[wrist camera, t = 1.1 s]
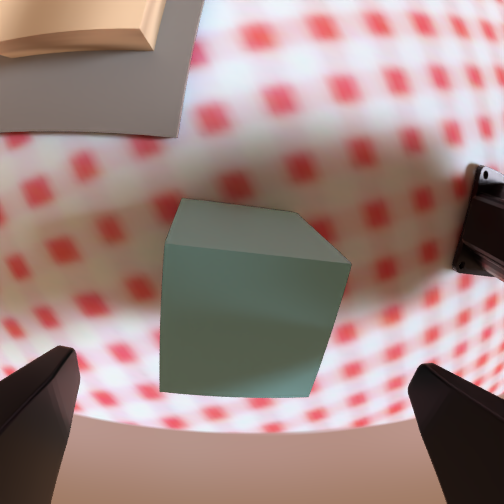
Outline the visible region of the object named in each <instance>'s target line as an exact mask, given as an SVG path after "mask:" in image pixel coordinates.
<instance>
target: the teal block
mask: <svg viewBox="0 0 504 504" xmlns="http://www.w3.org/2000/svg"><path fill="white" fill-rule="evenodd" d="M351 265H352V264H351V263H350V262H349V261H348V260H347V259H346V258H345V257H344V256H343V255H342V254H341V253H340V252H339V251H338V250H337V249H336V248H334V247H333V246H332V245H331V244H330V243H329V242H328V241H327V240H326V239H325V238H324V237H323V236H321V235H320V234H319V233H318V232H317V231H316V230H315V229H314V228H313V227H312V226H310V225H309V224H308V223H307V222H306V221H305V220H304V219H303V218H302V217H300V216H299V215H298V214H297V213H294V212H287V211H281V210H273V209H266V208H259V207H252V206H244V205H236V204H228V203H220V202H212V201H204V200H195V199H187V198H182V199H181V202H180V204H179V207H178V210H177V212H176V215H175V217H174V220H173V223H172V225H171V228H170V230H169V233H168V236H167V239H166V241H165V246H164V260H163V275H162V293H161V317H160V392H168V393H178V394H190V395H204V396H221V397H249V398H293V397H309V394H310V392H311V389H312V386H313V384H314V381H315V378H316V375H317V373H318V370H319V367H320V364H321V361H322V359H323V356H324V353H325V350H326V347H327V344H328V341H329V338H330V335H331V332H332V329H333V326H334V323H335V319H336V316H337V313H338V310H339V307H340V303H341V300H342V297H343V293H344V290H345V286H346V283H347V280H348V276H349V272H350V269H351Z"/></svg>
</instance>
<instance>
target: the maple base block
mask: <svg viewBox="0 0 504 504" xmlns="http://www.w3.org/2000/svg"><path fill="white" fill-rule="evenodd" d="M165 4H166V0H0V55H2V56H6V57H9V58H17V57H24V56H31V55H39V54H49V53H60V52H73V51H95V50H139V51H154V49H155V44H156V40H157V35H158V31H159V27H160V23H161V19H162V15H163V11H164V7H165Z"/></svg>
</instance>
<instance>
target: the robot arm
mask: <svg viewBox="0 0 504 504" xmlns="http://www.w3.org/2000/svg"><path fill="white" fill-rule="evenodd" d="M483 173H484V175H483ZM452 267H453V269H454V270H455V271H457V272H458V273H464V274H473V275H481V276H490V277H497V278H498V279H500V280H501V281H503V282H504V175H503V174H501V173H499V172H497V171H495V170H493V169H491V168H489V167H487V166H483V165H480V166H479V167H478V168H477V171H476V175H475V180H474V185H473V190H472V194H471V198H470V203H469V207H468V211H467V215H466V219H465V222H464V226H463V230H462V233H461V237H460V240H459V244H458V247H457V250H456V254H455V257H454V260H453V264H452ZM79 384H80V372H79V367H78V361H77V356H76V352H75V350H74V349H73V348H70V347H65V346H57V347H55V348H53V349H52V350H50V351H48V352H47V353H45V354H43V355H42V356H40V357H38V358H37V359H35V360H33V361H32V362H30V363H29V364H27V365H25V366H24V367H22V368H20V369H19V370H17V371H16V372H14V373H12V374H11V375H9V376H8V377H6V378H4V379H3V380H1V381H0V504H51V500H52V496H53V491H54V488H55V484H56V480H57V476H58V473H59V469H60V465H61V462H62V458H63V455H64V451H65V448H66V445H67V441H68V437H69V433H70V428H71V423H72V417H73V413H74V408H75V403H76V398H77V393H78V389H79ZM408 395H409V398H410V401H411V404H412V407H413V410H414V413H415V417H416V420H417V423H418V427H419V430H420V433H421V436H422V438H423V441H424V444H425V446H426V449H427V451H428V454H429V456H430V459H431V461H432V464H433V467H434V469H435V471H436V474H437V477H438V480H439V483H440V485H441V488H442V491H443V493H444V496H445V499H446V502H447V504H504V399H501V398H500V397H498V396H496V395H494V394H492V393H490V392H488V391H486V390H484V389H482V388H480V387H478V386H476V385H474V384H472V383H471V382H469V381H467V380H465V379H463V378H461V377H459V376H457V375H455V374H453V373H451V372H449V371H447V370H445V369H443V368H442V367H440V366H438V365H436V364H434V363H425V364H421V365H420V366H419V367H418V368H417V370H416V372H415V374H414V376H413V378H412V380H411V382H410V384H409V386H408Z"/></svg>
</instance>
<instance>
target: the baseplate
mask: <svg viewBox="0 0 504 504" xmlns="http://www.w3.org/2000/svg"><path fill="white" fill-rule="evenodd" d="M204 1H205V0H166V4H165V7H164V11H163V15H162V19H161V23H160V27H159V31H158V35H157V40H156V44H155V49H154V51H139V50H95V51H73V52H60V53H49V54H39V55H31V56H24V57H17V58H9V57H6V56H2V55H0V132H26V131H75V132H104V133H123V134H137V135H150V136H162V137H172V138H178V133H179V126H180V120H181V114H182V107H183V102H184V96H185V90H186V85H187V79H188V74H189V69H190V64H191V59H192V54H193V49H194V44H195V40H196V35H197V31H198V26H199V22H200V17H201V13H202V9H203V5H204Z"/></svg>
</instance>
